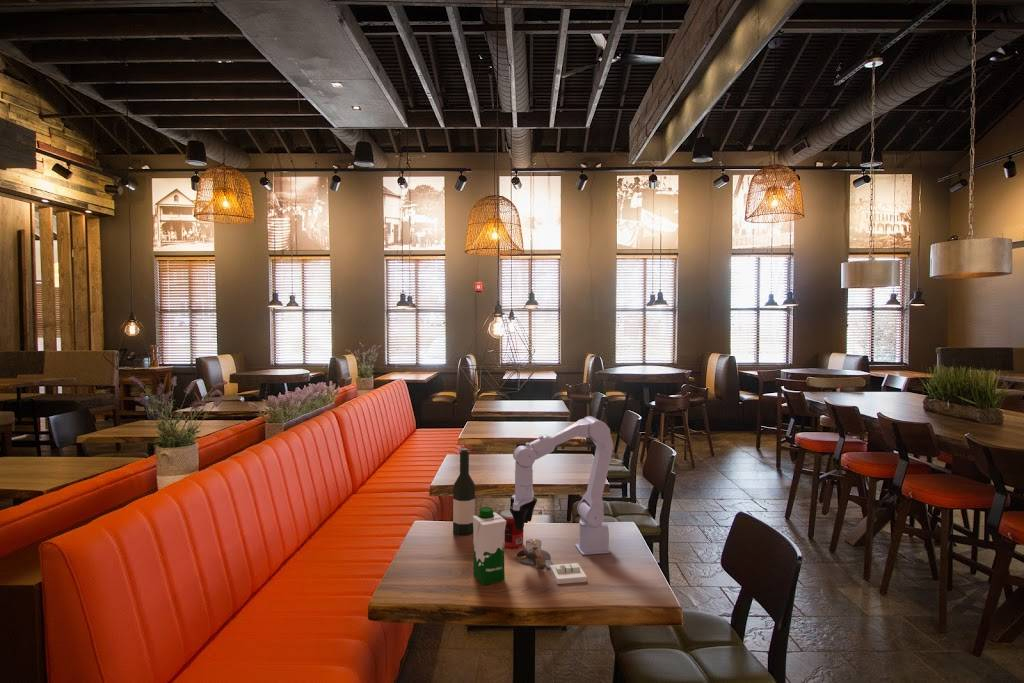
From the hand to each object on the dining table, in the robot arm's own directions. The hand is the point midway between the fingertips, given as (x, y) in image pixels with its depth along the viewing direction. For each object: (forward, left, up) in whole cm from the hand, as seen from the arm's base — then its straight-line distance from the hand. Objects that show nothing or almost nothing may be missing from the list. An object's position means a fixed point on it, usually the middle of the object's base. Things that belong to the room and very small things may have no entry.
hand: (523, 525), depth 178 cm
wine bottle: (+17, -23, -10) cm, 30 cm away
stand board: (-10, +16, -10) cm, 21 cm away
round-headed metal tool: (-3, +7, -9) cm, 12 cm away
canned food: (+2, -9, -10) cm, 14 cm away
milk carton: (+13, +13, -10) cm, 21 cm away
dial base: (-3, +4, -10) cm, 11 cm away
